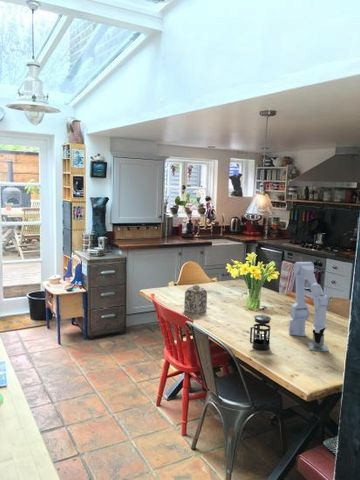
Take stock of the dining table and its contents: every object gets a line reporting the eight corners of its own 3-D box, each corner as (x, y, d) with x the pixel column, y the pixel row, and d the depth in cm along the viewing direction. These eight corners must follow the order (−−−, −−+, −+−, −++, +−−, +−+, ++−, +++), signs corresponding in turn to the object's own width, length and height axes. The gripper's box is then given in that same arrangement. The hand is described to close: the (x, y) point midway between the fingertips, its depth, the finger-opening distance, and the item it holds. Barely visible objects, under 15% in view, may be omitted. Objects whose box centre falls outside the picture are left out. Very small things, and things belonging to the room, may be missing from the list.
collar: (322, 347, 218) (323, 336, 217) (312, 345, 220) (312, 335, 219) (323, 344, 222) (324, 333, 221) (313, 342, 225) (314, 331, 224)
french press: (266, 343, 226) (268, 303, 223) (273, 350, 217) (276, 308, 214) (246, 344, 223) (248, 304, 220) (253, 351, 214) (255, 309, 211)
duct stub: (309, 350, 218) (309, 341, 217) (307, 343, 227) (308, 334, 227) (328, 352, 215) (329, 343, 215) (326, 345, 225) (327, 336, 224)
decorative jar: (197, 314, 274) (198, 288, 272) (183, 311, 281) (184, 285, 279) (207, 310, 284) (208, 285, 281) (193, 307, 290) (194, 282, 288)
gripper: (326, 322, 211) (324, 347, 213) (329, 315, 224) (327, 338, 225) (312, 320, 214) (310, 344, 216) (316, 312, 227) (314, 336, 229)
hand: (318, 341), depth 221 cm, fingers closed on collar, 5 cm apart
